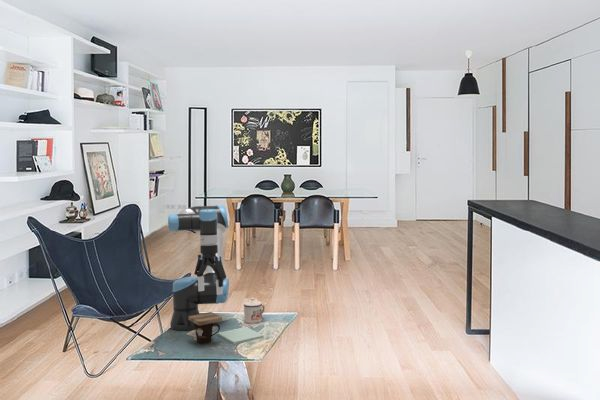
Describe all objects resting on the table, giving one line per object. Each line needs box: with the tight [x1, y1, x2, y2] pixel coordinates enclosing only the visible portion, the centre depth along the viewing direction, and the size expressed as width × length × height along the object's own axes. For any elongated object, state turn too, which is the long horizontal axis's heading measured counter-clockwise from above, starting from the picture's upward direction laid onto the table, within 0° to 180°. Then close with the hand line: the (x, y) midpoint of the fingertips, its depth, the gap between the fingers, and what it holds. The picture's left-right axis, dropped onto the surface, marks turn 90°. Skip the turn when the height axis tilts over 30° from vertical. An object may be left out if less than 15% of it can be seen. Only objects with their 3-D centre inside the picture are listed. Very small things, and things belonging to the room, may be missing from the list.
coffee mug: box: [194, 322, 221, 345], centre depth 258 cm, size 12×9×10 cm
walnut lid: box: [189, 311, 223, 326], centre depth 257 cm, size 11×11×2 cm
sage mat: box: [216, 326, 265, 345], centre depth 266 cm, size 16×15×1 cm
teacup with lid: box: [243, 297, 266, 324], centre depth 289 cm, size 12×9×12 cm
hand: (210, 292), depth 258 cm, fingers open, 13 cm apart
